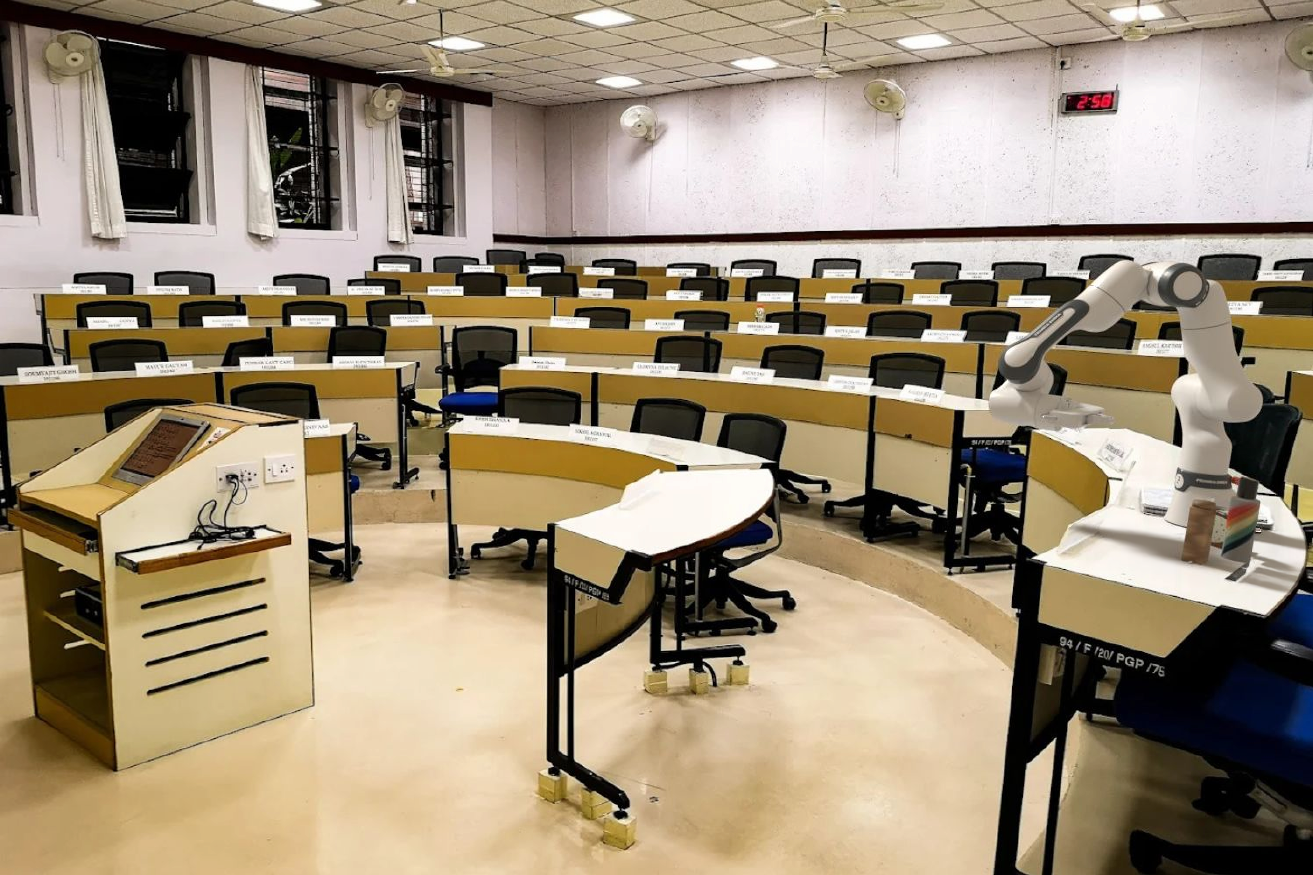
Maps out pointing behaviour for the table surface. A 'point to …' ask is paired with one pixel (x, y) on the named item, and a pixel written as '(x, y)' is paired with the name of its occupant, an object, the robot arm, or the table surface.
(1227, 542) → the lotion bottle
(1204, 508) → the brown post
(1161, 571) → the table surface
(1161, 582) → the table surface
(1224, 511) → the food container
